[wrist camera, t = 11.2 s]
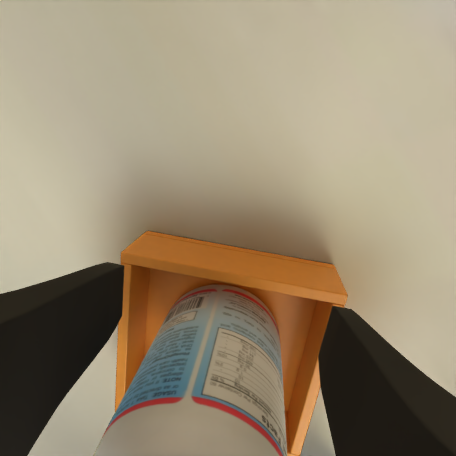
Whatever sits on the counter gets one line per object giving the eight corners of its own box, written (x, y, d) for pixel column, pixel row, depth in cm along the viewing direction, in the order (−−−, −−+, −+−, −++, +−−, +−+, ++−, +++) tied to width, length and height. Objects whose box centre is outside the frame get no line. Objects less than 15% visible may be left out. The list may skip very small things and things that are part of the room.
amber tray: (294, 411, 19) (298, 463, 16) (137, 377, 19) (114, 420, 17) (334, 264, 16) (348, 295, 13) (146, 230, 16) (120, 252, 14)
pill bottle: (175, 377, 18) (43, 722, 8) (160, 280, 17) (-37, 557, 6) (283, 380, 17) (301, 776, 7) (279, 279, 16) (298, 601, 5)
